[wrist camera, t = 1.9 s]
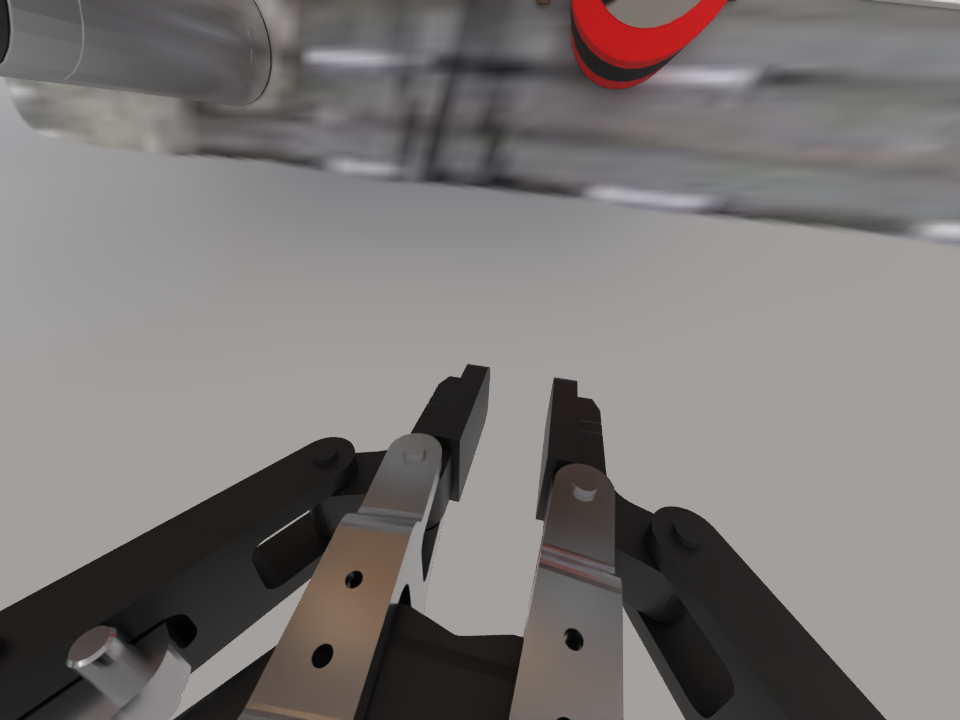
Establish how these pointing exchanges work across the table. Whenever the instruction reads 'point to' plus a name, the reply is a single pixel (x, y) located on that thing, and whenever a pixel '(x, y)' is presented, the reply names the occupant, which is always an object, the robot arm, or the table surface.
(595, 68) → the soda can
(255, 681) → the robot arm
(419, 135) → the table surface
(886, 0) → the baseboard
